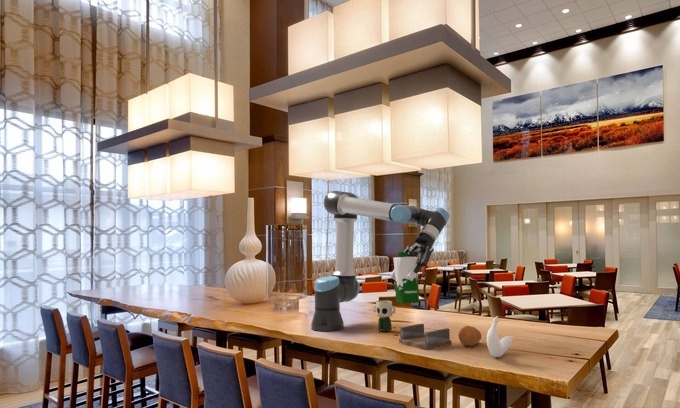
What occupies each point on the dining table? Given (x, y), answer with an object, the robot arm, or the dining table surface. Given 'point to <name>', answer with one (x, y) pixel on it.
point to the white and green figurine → (384, 314)
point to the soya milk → (405, 279)
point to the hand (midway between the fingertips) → (400, 278)
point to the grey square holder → (424, 337)
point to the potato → (469, 336)
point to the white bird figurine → (497, 341)
